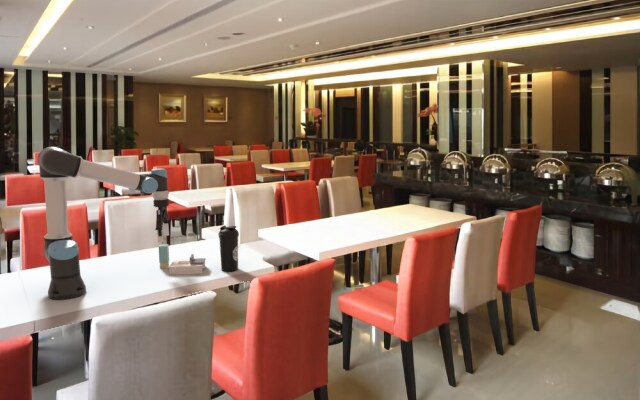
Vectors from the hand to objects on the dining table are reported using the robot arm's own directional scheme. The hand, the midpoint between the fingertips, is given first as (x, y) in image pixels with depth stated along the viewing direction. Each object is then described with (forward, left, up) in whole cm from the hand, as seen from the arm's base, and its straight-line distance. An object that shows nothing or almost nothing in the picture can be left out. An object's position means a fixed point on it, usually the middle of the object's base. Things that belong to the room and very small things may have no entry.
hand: (163, 238), depth 254 cm
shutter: (+13, -14, -11) cm, 22 cm away
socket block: (+9, -11, -15) cm, 21 cm away
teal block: (0, 0, -15) cm, 15 cm away
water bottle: (+28, -21, -16) cm, 38 cm away
